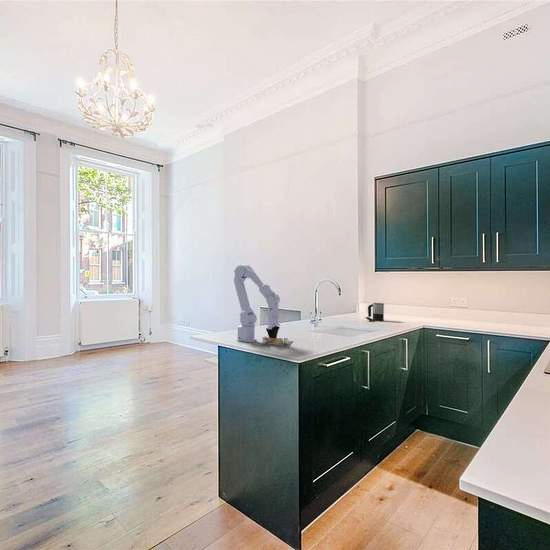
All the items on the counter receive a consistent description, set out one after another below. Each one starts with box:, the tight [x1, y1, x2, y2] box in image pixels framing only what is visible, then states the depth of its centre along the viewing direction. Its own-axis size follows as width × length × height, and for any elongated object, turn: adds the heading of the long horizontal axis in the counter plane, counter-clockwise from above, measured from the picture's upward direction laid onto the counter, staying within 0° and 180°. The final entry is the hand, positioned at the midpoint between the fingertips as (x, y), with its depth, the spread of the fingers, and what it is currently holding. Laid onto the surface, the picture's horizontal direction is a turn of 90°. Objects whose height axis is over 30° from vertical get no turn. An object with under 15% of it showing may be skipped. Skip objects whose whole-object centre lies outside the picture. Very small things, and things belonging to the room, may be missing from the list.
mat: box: [260, 340, 294, 348], centre depth 199 cm, size 15×16×1 cm
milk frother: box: [365, 302, 385, 322], centre depth 298 cm, size 14×16×15 cm
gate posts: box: [261, 336, 289, 346], centre depth 194 cm, size 14×3×4 cm, turn 86°
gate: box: [267, 337, 284, 344], centre depth 195 cm, size 10×1×3 cm, turn 75°
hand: (272, 340), depth 200 cm, fingers open, 5 cm apart
